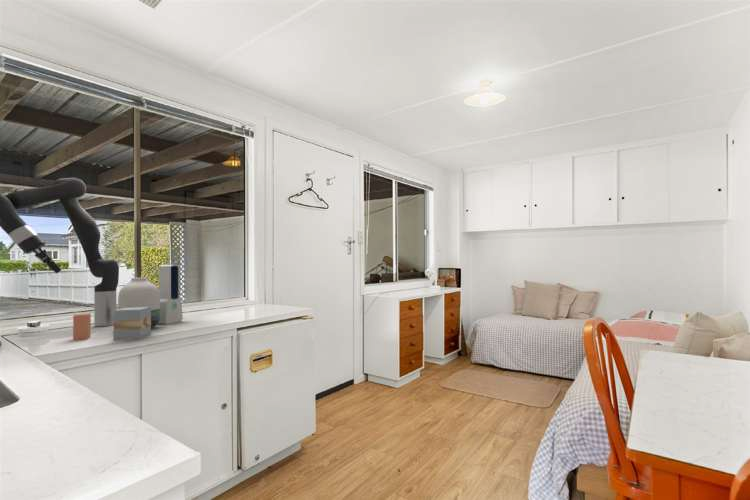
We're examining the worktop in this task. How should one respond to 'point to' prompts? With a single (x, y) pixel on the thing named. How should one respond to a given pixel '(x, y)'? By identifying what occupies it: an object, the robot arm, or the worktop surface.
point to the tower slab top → (132, 313)
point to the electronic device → (169, 294)
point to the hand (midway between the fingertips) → (57, 271)
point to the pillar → (81, 326)
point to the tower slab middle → (132, 324)
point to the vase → (141, 297)
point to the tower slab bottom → (131, 333)
